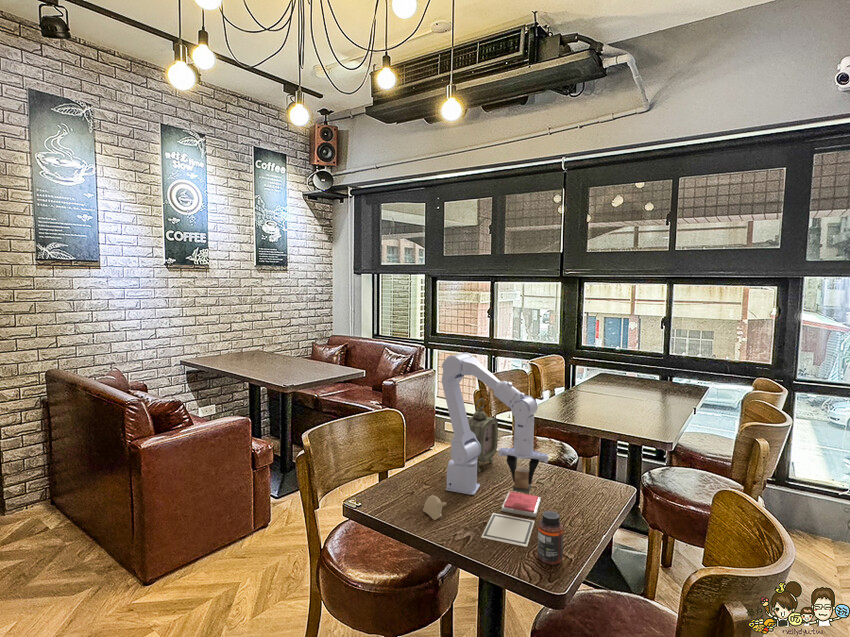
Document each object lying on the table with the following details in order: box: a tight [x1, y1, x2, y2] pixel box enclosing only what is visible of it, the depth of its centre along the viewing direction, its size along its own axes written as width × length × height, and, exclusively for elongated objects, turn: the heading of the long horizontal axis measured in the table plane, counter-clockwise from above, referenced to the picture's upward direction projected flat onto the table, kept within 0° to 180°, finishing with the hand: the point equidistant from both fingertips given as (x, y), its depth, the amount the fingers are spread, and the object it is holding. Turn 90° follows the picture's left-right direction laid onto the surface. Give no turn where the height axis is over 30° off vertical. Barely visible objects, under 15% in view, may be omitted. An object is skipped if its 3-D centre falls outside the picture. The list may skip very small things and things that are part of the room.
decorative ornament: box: [422, 494, 447, 521], centre depth 139 cm, size 4×8×5 cm, turn 29°
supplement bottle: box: [537, 510, 564, 566], centre depth 118 cm, size 6×6×11 cm
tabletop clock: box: [467, 398, 499, 474], centre depth 175 cm, size 14×9×25 cm, turn 149°
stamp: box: [512, 465, 532, 494], centre depth 144 cm, size 5×5×6 cm
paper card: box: [480, 512, 536, 548], centre depth 132 cm, size 12×14×1 cm
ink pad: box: [501, 491, 542, 518], centre depth 145 cm, size 10×11×2 cm
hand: (522, 481), depth 145 cm, fingers closed on stamp, 4 cm apart
